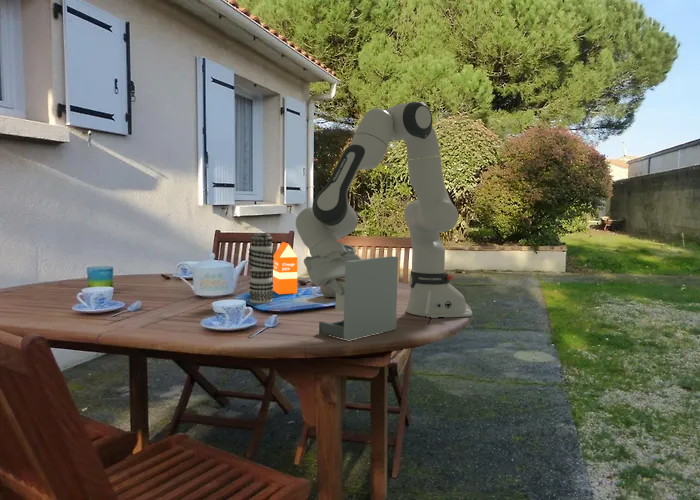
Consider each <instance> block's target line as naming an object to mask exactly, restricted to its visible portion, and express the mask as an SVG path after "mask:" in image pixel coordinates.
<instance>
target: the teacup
mask: <svg viewBox="0 0 700 500" xmlns="http://www.w3.org/2000/svg"><path fill="white" fill-rule="evenodd" d="M319 288H320V289H319V291H320V293H321V294H322V295H323V296H324V297H325V298H329V297H336V291H335V290H333V289H332V288H330V286H329V285H321V286H319Z"/></svg>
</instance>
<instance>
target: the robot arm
mask: <svg viewBox="0 0 700 500" xmlns="http://www.w3.org/2000/svg"><path fill="white" fill-rule="evenodd" d="M393 141H403V142H404V143H405V145H406V159H407V168H408V177H409V184H410V186H411V187H412V188H413V191H414V193H415V195H416V198H417V199H414V200H413V201H411V202H409V203H408V204H407V205H406V207H405V209H404V212H403V218H404V221H405V222H406V224H407V226H408V231H409V235H410V242H411V250H412V252H411V253H412V255H411V256H412V257H411V261H412V262H411V270H410V275H409V288H410V291H409V298H408V301H407V306H406V307H405V308H406V309H405V312H406V313H407V314H411V315H415V316H420V317H425V316H426V317H425V318H429V317H431V318H430V319H439V318H438V317H444V318H461V317H462V318H464V317H472V316H473V312H472V310H471V309H470V308H468V307H467V306H466V300H465V296H464V295H463V294H462V293H461V292H460V291H459V289H457V288H456V287H454V286H453V285H452V284H450V282H453V280H454V275H453V274H449V273H447V272H446V271H445V264H446V263H445V262H446V261H445V260H446V249H445V247H444V244H443V243H442V239H441V236H440V233H445V232H448V231H451V230H452V229H454V227H456V225H457V223H458V221H459V211H458V208H457V207H456V206H455V205H454V204H453V202H452V200H451V198H450V196H449V193H448V189H447V187H446V184H445V181H444V176H443V167H442V160H441V159H442V158H441V151H440V150H441V149H440V145H439V139H438V135H437V132H436V130H435V129H434V127H433V114H432V111H431V110H430V107H428V105H427V104H426V103H425V102H422V101H421V102H420V101H411V102H406V103H400V104H396V105H394V106H391V107H388V108H384V109H383V108H377V107H375V108H372V109H369V110H368V111H367V112H366V113H365V114H364V116H363V118H362V119H361V120H360V122H359V125H358V126H357V128H356V130H355V132H354V134H353V137H352V140H351V141H350V144H349V145H348V147H347V148H346V149H345V150H344V151H343V153H342V155H341V156H340V158H339V160H338V162H337V164H336V166H335V168H334V169H333V171H332V174H331V175H330V177H329V179H328V181H327V183H326V184H325V186H324V187H323V188H322V189H321V190H320V191H319V192H318V193H317V194H316V195H315V198H314V200H313V202H312V206H311V207H310V206H308V207H306V208H304V209H302V210H301V211H300V212H299V213H298V214H297V216H296V218H295V228H296V231H297V234H298V235H299V237H300V239H301V241H302V243H303V245H305V246H306V247H307V248H308V251H309V254H310V256H308V255H307V256H306V257H305V258H304V259H303V264H304V265H305V268H306V272H307V274H308V276H309V279H310V281H311V283H312V284H313V285H314V286H316V287H320V286H321V285H329V286H330V288H332V289H333V290H335V291H336V292H337V294H338V295H339V296H340V295H344V293H345V290H344V288H343V287H340V286H339V285H338V284H337V281H336V279H337V278H345V261H351V260H362V258H361V257H360V256H359V255H358V254H357V252H356V249H355V247H354V246H351V245H348V244H344V243H342V242H338V240H340V239H342V238H344V237H347V236H349V235H350V234H352V233H353V232H354V231H355V229H356V228H357V226H358V223H359V222H358V221H359V217H358V214H357V212H356V211H355V209H354V208H353V207H352V206H351V204H350V203H349V200H348V193H349V189H350V188H351V186H352V184H353V182H354V179H355V177H356V175H357V173H358V172H359V171H360V170H367V171H368V170H373V169H375V168H377V167H379V166H380V164H381V162H382V160H383V159H384V157H385V155H386V152H387V149H388V146H389V144H390V142H393Z"/></svg>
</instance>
